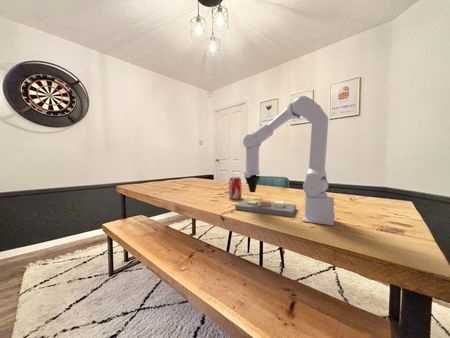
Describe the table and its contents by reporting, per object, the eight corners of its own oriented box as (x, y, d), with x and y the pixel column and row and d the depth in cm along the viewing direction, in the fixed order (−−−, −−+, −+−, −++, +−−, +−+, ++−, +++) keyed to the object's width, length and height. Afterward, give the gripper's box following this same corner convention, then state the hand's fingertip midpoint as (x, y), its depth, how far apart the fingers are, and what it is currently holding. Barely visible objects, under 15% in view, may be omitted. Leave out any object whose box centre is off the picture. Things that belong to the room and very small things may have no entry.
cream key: (284, 206, 79) (284, 201, 79) (282, 208, 76) (283, 203, 76) (276, 205, 81) (276, 201, 80) (274, 207, 77) (274, 202, 77)
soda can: (239, 199, 101) (239, 178, 100) (227, 199, 103) (227, 177, 103) (242, 197, 108) (242, 176, 107) (231, 196, 110) (231, 176, 109)
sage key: (257, 206, 85) (257, 201, 84) (255, 208, 81) (255, 203, 81) (250, 205, 86) (250, 200, 86) (247, 207, 83) (247, 202, 83)
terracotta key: (270, 205, 82) (270, 200, 82) (268, 207, 78) (268, 202, 78) (262, 204, 83) (262, 199, 83) (260, 206, 80) (260, 201, 80)
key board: (296, 209, 81) (296, 204, 81) (292, 217, 70) (292, 211, 70) (245, 203, 92) (245, 199, 92) (235, 209, 81) (235, 205, 81)
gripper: (249, 161, 91) (249, 189, 92) (237, 162, 78) (238, 194, 79) (263, 161, 88) (263, 189, 88) (253, 162, 75) (253, 195, 76)
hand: (252, 191), depth 83 cm, fingers closed
